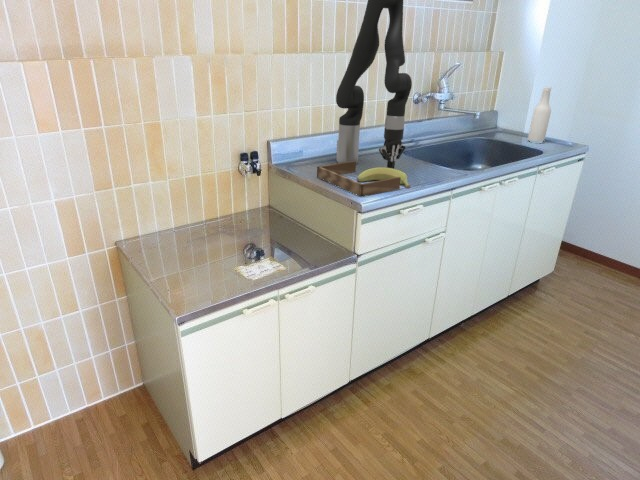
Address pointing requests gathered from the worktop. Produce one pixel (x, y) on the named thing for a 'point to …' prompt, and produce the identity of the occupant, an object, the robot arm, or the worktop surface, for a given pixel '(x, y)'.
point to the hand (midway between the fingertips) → (390, 169)
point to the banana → (383, 175)
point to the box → (334, 177)
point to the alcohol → (540, 117)
